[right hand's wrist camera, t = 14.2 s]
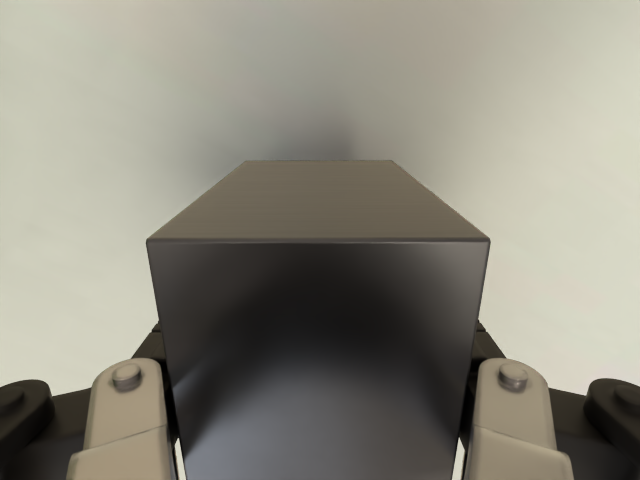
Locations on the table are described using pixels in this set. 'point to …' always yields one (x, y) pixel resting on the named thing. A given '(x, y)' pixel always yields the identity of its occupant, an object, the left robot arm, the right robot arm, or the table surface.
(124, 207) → the table surface
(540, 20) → the table surface
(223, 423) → the bar
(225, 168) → the table surface
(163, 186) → the table surface
